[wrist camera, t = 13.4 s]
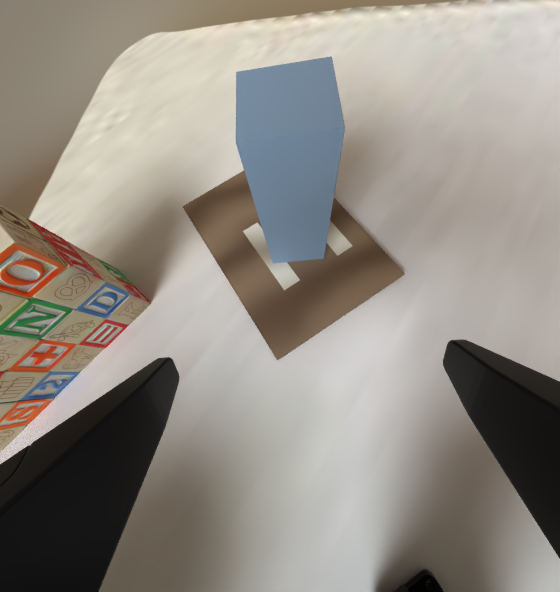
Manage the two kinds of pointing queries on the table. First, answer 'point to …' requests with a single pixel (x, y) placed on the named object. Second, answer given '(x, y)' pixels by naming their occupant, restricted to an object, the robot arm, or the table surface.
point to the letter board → (289, 267)
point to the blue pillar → (291, 152)
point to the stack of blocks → (52, 316)
